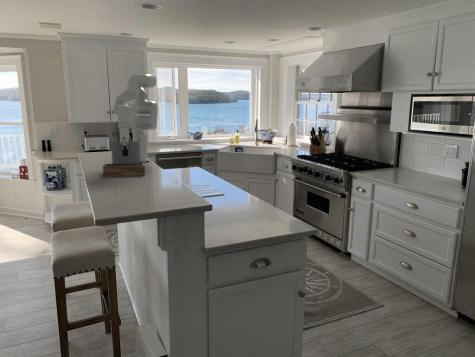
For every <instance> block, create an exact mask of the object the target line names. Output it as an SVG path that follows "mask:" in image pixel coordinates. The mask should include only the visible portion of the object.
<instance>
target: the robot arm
mask: <svg viewBox="0 0 475 357" xmlns="http://www.w3.org/2000/svg"><path fill="white" fill-rule="evenodd" d="M156 85H157V77H156V76H155V75H154V74H146V73H145V74H144V73H133V74H131V75H130V76H129V79H128V82H127V85H126V89H125V90H124V91H123V92H122V93H121V94H119V95H118V96H117V97H116V99H115V101H114V104H113V105H114V106H113V113H114V115H115V116H116V117H117V128H118V129H119V141H120V144H122V142H123V149H122V151H123V156H128V149H127V145H128V144H129V141H130V129H131V134H132V141H138V143H139V162H141V163H147V162H146V161H149V160H150V158H148V136H147V134H146V132H145V131H153V130H156V129H157V124H158V115H159V113H158V112H159V106H158V103H157V102H156V101H153V100H148V99H149V97H148V96H149V95H148V93H147V91H146V90H145V88H154V87H156ZM133 100H134V104H132V103H127V102H130V101H133ZM126 142H127V144H126ZM149 162H150V161H149Z"/></svg>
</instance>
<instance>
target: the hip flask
mask: <svg viewBox="0 0 475 357" xmlns="http://www.w3.org/2000/svg"><path fill="white" fill-rule="evenodd" d="M126 144H127V142H126ZM122 149H123V142H122V144H120V140H116V141H111V158H112V162H111V164H124V163H139V143H138V141H133V140H131V141H130V140H129V144H128V145H127V149H128V156H123V151H122Z"/></svg>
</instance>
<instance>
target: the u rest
mask: <svg viewBox="0 0 475 357" xmlns="http://www.w3.org/2000/svg"><path fill="white" fill-rule="evenodd" d="M132 175H145V176H146V162H141V163H124V164H112V163H104V165H103V166H102V177H105V178H106V177H107V176H109V177H133V176H132Z"/></svg>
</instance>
